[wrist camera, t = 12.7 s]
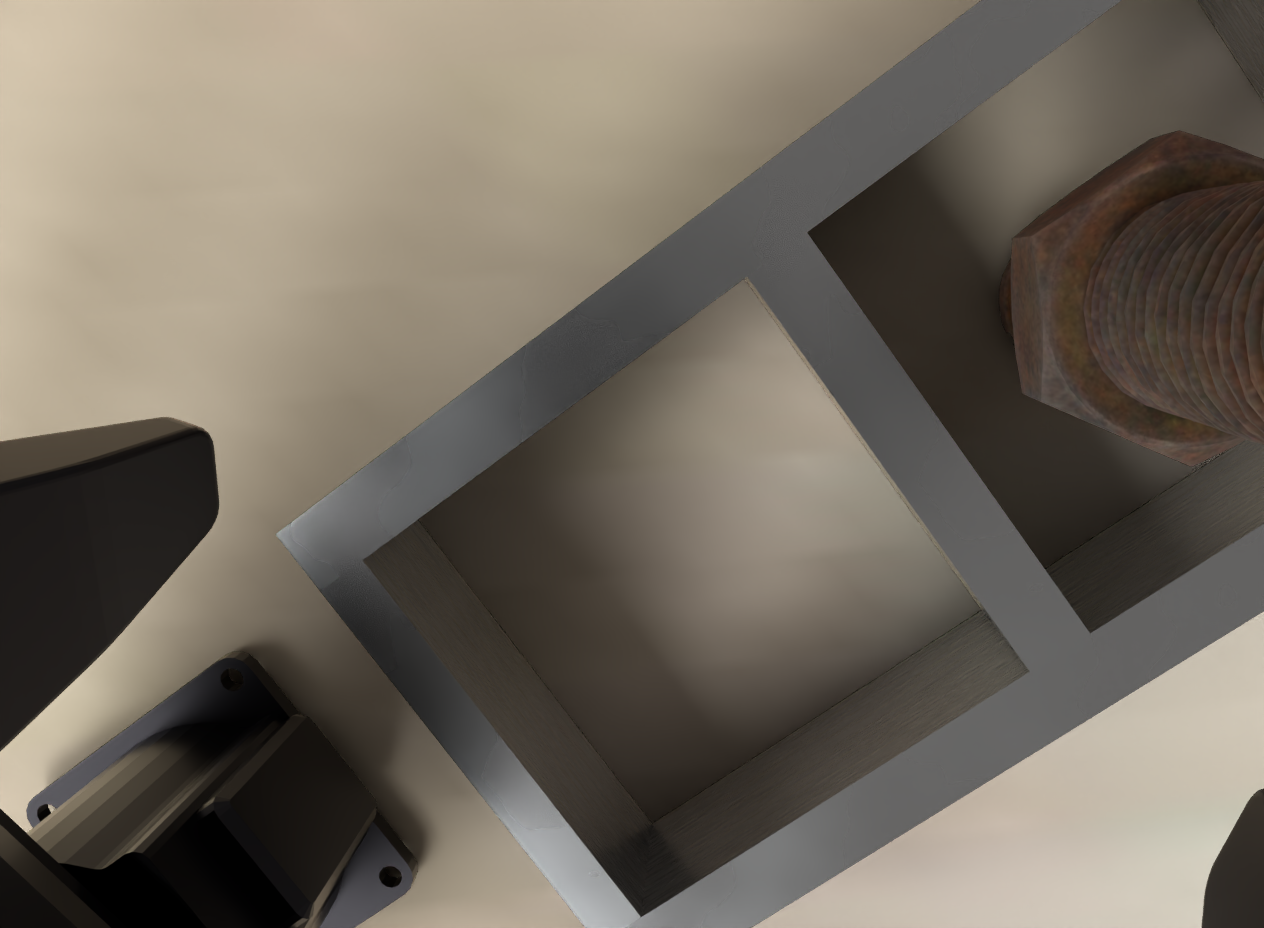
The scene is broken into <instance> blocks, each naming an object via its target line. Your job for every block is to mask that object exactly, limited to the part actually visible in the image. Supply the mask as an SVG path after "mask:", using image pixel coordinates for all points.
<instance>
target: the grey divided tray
mask: <svg viewBox="0 0 1264 928" xmlns="http://www.w3.org/2000/svg"><path fill="white" fill-rule="evenodd" d="M1120 1H1121V0H981V1H980V2H979V3H977V4H976V5H975V6H973V7H972V8H971V9H969V10H968V11H967V12H965V13H964V14H963V15H961V16H960V17H959V18H957V19H956V20H955V21H953V22H952V23H951V24H949V25H948V26H947V27H945V28H944V29H943V30H941V31H940V32H939V33H938V34H936V35H935V36H934V37H932V38H931V39H930V40H928V41H927V42H926V43H924V44H923V45H922V46H920V47H919V48H918V49H916V50H915V51H914V52H912V53H911V54H910V55H908V56H907V57H906V58H904V59H903V60H902V61H901V62H899V63H898V64H897V65H895V66H894V67H893V68H891V69H890V70H889V71H887V72H886V73H885V74H883V75H882V76H881V77H879V78H878V79H877V80H875V81H874V82H873V83H871V84H870V85H869V86H867V87H866V88H865V89H863V90H862V91H861V92H860V93H858V94H857V95H856V96H854V97H853V98H852V99H850V100H849V101H848V102H846V103H845V104H844V105H842V106H841V107H840V108H838V109H837V110H836V111H834V112H833V113H832V114H830V115H829V116H828V117H826V118H825V119H824V120H822V121H821V122H820V123H819V124H817V125H816V126H815V127H813V128H812V129H811V130H809V131H808V132H807V133H805V134H804V135H803V136H801V137H800V138H799V139H797V140H796V141H795V142H793V143H792V144H791V145H789V146H788V147H787V148H785V149H784V150H783V151H782V152H780V153H779V154H778V155H776V156H775V157H774V158H772V159H771V160H770V161H768V162H767V163H766V164H764V165H763V166H762V167H760V168H759V169H758V170H756V171H755V172H754V173H752V174H751V175H750V176H748V177H747V178H746V179H744V180H743V181H742V182H741V183H739V184H738V185H737V186H735V187H734V188H733V189H731V190H730V191H729V192H727V193H726V194H725V195H723V196H722V197H721V198H719V199H718V200H717V201H715V202H714V203H713V204H711V205H710V206H709V207H707V208H706V209H705V210H703V211H702V212H701V213H700V214H698V215H697V216H696V217H694V218H693V219H692V220H690V221H689V222H688V223H686V224H685V225H684V226H682V227H681V228H680V229H678V230H677V231H676V232H674V233H673V234H672V235H670V236H669V237H668V238H666V239H665V240H664V241H663V242H661V243H660V244H659V245H657V246H656V247H655V248H653V249H652V250H651V251H649V252H648V253H647V254H645V255H644V256H643V257H641V258H640V259H639V260H637V261H636V262H635V263H633V264H632V265H631V266H629V267H628V268H627V269H625V270H624V271H623V272H622V273H620V274H619V275H618V276H616V277H615V278H614V279H612V280H611V281H610V282H608V283H607V284H606V285H604V286H603V287H602V288H600V289H599V290H598V291H596V292H595V293H594V294H592V295H591V296H590V297H588V298H587V299H586V300H584V301H583V302H582V303H581V304H579V305H578V306H577V307H575V308H574V309H573V310H571V311H570V312H569V313H567V314H566V315H565V316H563V317H562V318H561V319H559V320H558V321H557V322H555V323H554V324H553V325H551V326H550V327H549V328H547V329H546V330H545V331H544V332H542V333H541V334H540V335H538V336H537V337H536V338H534V339H533V340H532V341H530V342H529V343H528V344H526V345H525V346H524V347H522V348H521V349H520V350H518V351H517V352H516V353H514V354H513V355H512V356H510V357H509V358H508V359H506V360H505V361H504V362H503V363H501V364H500V365H499V366H497V367H496V368H495V369H493V370H492V371H491V372H489V373H488V374H487V375H485V376H484V377H483V378H481V379H480V380H479V381H477V382H476V383H475V384H473V385H472V386H471V387H469V388H468V389H467V390H466V391H464V392H463V393H462V394H460V395H459V396H458V397H456V398H455V399H454V400H452V401H451V402H450V403H448V404H447V405H446V406H444V407H443V408H442V409H440V410H439V411H438V412H436V413H435V414H434V415H432V416H431V417H430V418H428V419H427V420H426V421H425V422H423V423H422V424H421V425H419V426H418V427H417V428H415V429H414V430H413V431H411V432H410V433H409V434H407V435H406V436H405V437H403V438H402V439H401V440H399V441H398V442H397V443H395V444H394V445H393V446H391V447H390V448H389V449H387V450H386V451H385V452H384V453H382V454H381V455H380V456H378V457H377V458H376V459H374V460H373V461H372V462H370V463H369V464H368V465H366V466H365V467H364V468H362V469H361V470H360V471H358V472H357V473H356V474H354V475H353V476H352V477H350V478H349V479H348V480H347V481H345V482H344V483H343V484H341V485H340V486H339V487H337V488H336V489H335V490H333V491H332V492H331V493H329V494H328V495H327V496H325V497H324V498H323V499H321V500H320V501H319V502H317V503H316V504H315V505H313V506H312V507H311V508H309V509H308V510H307V511H306V512H304V513H303V514H302V515H300V516H299V517H298V518H296V519H295V520H294V521H292V522H291V523H290V524H288V525H287V526H286V527H284V528H283V529H282V530H280V531H279V532H278V533H276V536H277V537H278V538H279V540H280V541H281V542H282V543H283V545H284V546H285V547H286V548H287V550H288V551H289V552H290V553H291V555H292V556H293V557H294V559H295V560H296V561H297V562H298V564H299V565H300V566H301V567H302V569H303V570H304V571H305V573H306V574H307V575H308V576H309V578H310V579H311V580H312V581H313V583H314V584H315V585H316V587H317V588H318V589H319V590H320V592H321V593H322V594H323V595H324V597H325V598H326V599H327V600H328V602H329V603H330V604H331V606H332V607H333V608H334V609H335V611H336V612H337V613H338V614H339V616H340V617H341V618H342V620H343V621H344V622H345V623H346V625H347V626H348V627H349V628H350V630H351V631H352V632H353V634H354V635H355V636H356V637H357V639H358V640H359V641H360V642H361V644H362V645H363V646H364V647H365V649H366V650H367V651H368V653H369V654H370V655H371V656H372V658H373V659H374V660H375V661H376V663H377V664H378V665H379V667H380V668H381V669H382V670H383V672H384V673H385V674H386V675H387V677H388V678H389V679H390V681H391V682H392V683H393V684H394V686H395V687H396V688H397V689H398V691H399V692H400V693H401V694H402V696H403V697H404V698H405V700H406V701H407V702H408V703H409V705H410V706H411V707H412V708H413V710H414V711H415V712H416V714H417V715H418V716H419V717H420V719H421V720H422V721H423V722H424V724H425V725H426V726H427V727H428V729H429V730H430V731H431V733H432V734H433V735H434V736H435V738H436V739H437V740H438V741H439V743H440V744H441V745H442V747H443V748H444V749H445V750H446V752H447V753H448V754H449V755H450V757H451V758H452V759H453V761H454V762H455V763H456V764H457V766H458V767H459V768H460V769H461V771H462V772H463V773H464V774H465V776H466V777H467V778H468V780H469V781H470V782H471V783H472V785H473V786H474V787H475V788H476V790H477V791H478V792H479V794H480V795H481V796H482V797H483V799H484V800H485V801H486V802H487V804H488V805H489V806H490V808H491V809H492V810H493V811H494V813H495V814H496V815H497V816H498V818H499V819H500V820H501V821H502V823H503V824H504V825H505V827H506V828H507V829H508V830H509V832H510V833H511V834H512V835H513V837H514V838H515V839H516V841H517V842H518V843H519V844H520V846H521V847H522V848H523V849H524V851H525V852H526V853H527V855H528V856H529V857H530V858H531V860H532V861H533V862H534V863H535V865H536V866H537V867H538V868H539V870H540V871H541V872H542V874H543V875H544V876H545V877H546V879H547V880H548V881H549V882H550V884H551V885H552V886H553V888H554V889H555V890H556V891H557V893H558V894H559V895H560V896H561V898H562V899H563V900H564V902H565V903H566V904H567V905H568V907H569V908H570V909H571V910H572V912H573V913H574V914H575V915H576V917H577V918H578V919H579V921H580V922H581V923H582V924H583V926H584V927H585V928H752V927H753V926H755V925H757V924H758V923H760V922H761V921H763V920H765V919H766V918H768V917H770V916H771V915H773V914H774V913H776V912H778V911H779V910H781V909H782V908H784V907H786V906H787V905H789V904H791V903H792V902H794V901H795V900H797V899H799V898H800V897H802V896H804V895H805V894H807V893H808V892H810V891H812V890H813V889H815V888H816V887H818V886H820V885H821V884H823V883H825V882H826V881H828V880H829V879H831V878H833V877H834V876H836V875H838V874H839V873H841V872H842V871H844V870H846V869H847V868H849V867H850V866H852V865H854V864H855V863H857V862H859V861H860V860H862V859H863V858H865V857H867V856H868V855H870V854H872V853H873V852H875V851H876V850H878V849H880V848H881V847H883V846H884V845H886V844H888V843H889V842H891V841H893V840H894V839H896V838H897V837H899V836H901V835H902V834H904V833H906V832H907V831H909V830H910V829H912V828H914V827H915V826H917V825H918V824H920V823H922V822H923V821H925V820H927V819H928V818H930V817H931V816H933V815H935V814H936V813H938V812H940V811H941V810H943V809H944V808H946V807H948V806H949V805H951V804H952V803H954V802H956V801H957V800H959V799H961V798H962V797H964V796H965V795H967V794H969V793H970V792H972V791H974V790H975V789H977V788H978V787H980V786H982V785H983V784H985V783H986V782H988V781H990V780H991V779H993V778H995V777H996V776H998V775H999V774H1001V773H1003V772H1004V771H1006V770H1008V769H1009V768H1011V767H1012V766H1014V765H1016V764H1017V763H1019V762H1020V761H1022V760H1024V759H1025V758H1027V757H1029V756H1030V755H1032V754H1033V753H1035V752H1037V751H1038V750H1040V749H1042V748H1043V747H1045V746H1046V745H1048V744H1050V743H1051V742H1053V741H1054V740H1056V739H1058V738H1059V737H1061V736H1063V735H1064V734H1066V733H1067V732H1069V731H1071V730H1072V729H1074V728H1076V727H1077V726H1079V725H1080V724H1082V723H1084V722H1085V721H1087V720H1088V719H1090V718H1092V717H1093V716H1095V715H1097V714H1098V713H1100V712H1101V711H1103V710H1105V709H1106V708H1108V707H1109V706H1111V705H1113V704H1114V703H1116V702H1118V701H1119V700H1121V699H1122V698H1124V697H1126V696H1127V695H1129V694H1131V693H1132V692H1134V691H1135V690H1137V689H1139V688H1140V687H1142V686H1143V685H1145V684H1147V683H1148V682H1150V681H1152V680H1153V679H1155V678H1156V677H1158V676H1160V675H1161V674H1163V673H1165V672H1166V671H1168V670H1169V669H1171V668H1173V667H1174V666H1176V665H1177V664H1179V663H1181V662H1182V661H1184V660H1186V659H1187V658H1189V657H1190V656H1192V655H1194V654H1195V653H1197V652H1199V651H1200V650H1202V649H1203V648H1205V647H1207V646H1208V645H1210V644H1211V643H1213V642H1215V641H1216V640H1218V639H1220V638H1221V637H1223V636H1224V635H1226V634H1228V633H1229V632H1231V631H1233V630H1234V629H1236V628H1237V627H1239V626H1241V625H1242V624H1244V623H1245V622H1247V621H1249V620H1250V619H1252V618H1254V617H1255V616H1257V615H1258V614H1260V613H1262V612H1263V611H1264V446H1263V445H1261V444H1258V443H1255V442H1251V441H1248V440H1245V441H1243V442H1241V443H1239V444H1238V445H1236V446H1234V447H1233V448H1231V449H1229V450H1228V451H1226V452H1225V453H1223V454H1222V455H1220V456H1219V457H1217V458H1216V459H1214V460H1212V461H1211V462H1209V463H1208V464H1206V465H1205V466H1203V467H1202V468H1200V469H1199V470H1197V471H1196V472H1194V473H1192V474H1191V475H1189V476H1188V477H1186V478H1185V479H1183V480H1182V481H1180V482H1179V483H1177V484H1175V485H1174V486H1172V487H1171V488H1169V489H1168V490H1166V491H1165V492H1163V493H1162V494H1160V495H1159V496H1157V497H1155V498H1154V499H1152V500H1151V501H1149V502H1148V503H1146V504H1145V505H1143V506H1142V507H1140V508H1138V509H1137V510H1135V511H1134V512H1132V513H1131V514H1129V515H1128V516H1126V517H1125V518H1123V519H1122V520H1120V521H1118V522H1117V523H1115V524H1114V525H1112V526H1111V527H1109V528H1108V529H1106V530H1105V531H1103V532H1101V533H1100V534H1098V535H1097V536H1095V537H1094V538H1092V539H1091V540H1089V541H1088V542H1086V543H1085V544H1083V545H1081V546H1080V547H1078V548H1077V549H1075V550H1074V551H1072V552H1071V553H1069V554H1068V555H1066V556H1064V557H1063V558H1061V559H1060V560H1058V561H1057V562H1055V563H1054V564H1052V565H1051V566H1049V567H1048V568H1046V569H1044V567H1043V566H1042V564H1041V563H1040V562H1039V560H1038V559H1037V557H1036V556H1035V555H1034V553H1033V552H1032V550H1031V549H1030V548H1029V546H1028V545H1027V543H1026V542H1025V540H1024V539H1023V538H1022V536H1021V535H1020V533H1019V532H1018V531H1017V529H1016V528H1015V526H1014V525H1013V523H1012V522H1011V521H1010V519H1009V518H1008V516H1007V515H1006V514H1005V512H1004V511H1003V509H1002V508H1001V506H1000V505H999V504H998V502H997V501H996V499H995V498H994V497H993V495H992V494H991V492H990V491H989V489H988V488H987V487H986V485H985V484H984V482H983V481H982V480H981V478H980V477H979V475H978V474H977V472H976V471H975V470H974V468H973V467H972V465H971V464H970V463H969V461H968V460H967V458H966V457H965V455H964V454H963V453H962V451H961V450H960V448H959V447H958V446H957V444H956V443H955V441H954V440H953V438H952V437H951V436H950V434H949V433H948V431H947V430H946V429H945V427H944V426H943V424H942V423H941V421H940V420H939V419H938V417H937V416H936V414H935V413H934V412H933V410H932V409H931V407H930V406H929V404H928V403H927V402H926V400H925V399H924V397H923V396H922V395H921V393H920V392H919V390H918V389H917V388H916V386H915V385H914V383H913V382H912V380H911V379H910V378H909V376H908V375H907V373H906V372H905V371H904V369H903V368H902V366H901V365H900V363H899V362H898V361H897V359H896V358H895V356H894V355H893V354H892V352H891V351H890V349H889V348H888V346H887V345H886V344H885V342H884V341H883V339H882V338H881V337H880V335H879V334H878V332H877V331H876V329H875V328H874V327H873V325H872V324H871V322H870V321H869V320H868V318H867V317H866V315H865V314H864V312H863V311H862V310H861V308H860V307H859V305H858V304H857V303H856V301H855V300H854V298H853V297H852V295H851V294H850V293H849V291H848V290H847V288H846V287H845V286H844V284H843V283H842V281H841V280H840V278H839V277H838V276H837V274H836V273H835V271H834V270H833V269H832V267H831V266H830V264H829V263H828V261H827V260H826V259H825V257H824V256H823V254H822V253H821V252H820V250H819V249H818V247H817V246H816V244H815V243H814V242H813V240H812V239H811V237H810V236H809V235H808V233H807V232H808V231H810V230H811V229H812V228H814V227H815V226H816V225H818V224H819V223H820V222H822V221H823V220H824V219H826V218H827V217H828V216H830V215H831V214H833V213H834V212H835V211H837V210H838V209H839V208H841V207H842V206H843V205H845V204H846V203H847V202H849V201H850V200H852V199H853V198H854V197H856V196H857V195H858V194H860V193H861V192H862V191H864V190H865V189H866V188H868V187H869V186H870V185H872V184H873V183H875V182H876V181H877V180H879V179H880V178H881V177H883V176H884V175H885V174H887V173H888V172H889V171H891V170H892V169H894V168H895V167H896V166H898V165H899V164H900V163H902V162H903V161H904V160H906V159H907V158H908V157H910V156H911V155H912V154H914V153H915V152H917V151H918V150H919V149H921V148H922V147H923V146H925V145H926V144H927V143H929V142H930V141H931V140H933V139H934V138H936V137H937V136H938V135H940V134H941V133H942V132H944V131H945V130H946V129H948V128H949V127H950V126H952V125H953V124H954V123H956V122H957V121H959V120H960V119H961V118H963V117H964V116H965V115H967V114H968V113H969V112H971V111H972V110H973V109H975V108H976V107H978V106H979V105H980V104H982V103H983V102H984V101H986V100H987V99H988V98H990V97H991V96H992V95H994V94H995V93H996V92H998V91H999V90H1001V89H1002V88H1003V87H1005V86H1006V85H1007V84H1009V83H1010V82H1011V81H1013V80H1014V79H1015V78H1017V77H1018V76H1020V75H1021V74H1022V73H1024V72H1025V71H1026V70H1028V69H1029V68H1030V67H1032V66H1033V65H1034V64H1036V63H1037V62H1038V61H1040V60H1041V59H1043V58H1044V57H1045V56H1047V55H1048V54H1049V53H1051V52H1052V51H1053V50H1055V49H1056V48H1057V47H1059V46H1060V45H1062V44H1063V43H1064V42H1066V41H1067V40H1068V39H1070V38H1071V37H1072V36H1074V35H1075V34H1076V33H1078V32H1079V31H1080V30H1082V29H1083V28H1085V27H1086V26H1087V25H1089V24H1090V23H1091V22H1093V21H1094V20H1095V19H1097V18H1098V17H1099V16H1101V15H1102V14H1104V13H1105V12H1106V11H1108V10H1109V9H1110V8H1112V7H1113V6H1114V5H1116V4H1117V3H1118V2H1120ZM1197 1H1198V2H1199V4H1200V5H1201V7H1202V8H1203V10H1204V11H1205V13H1206V15H1207V16H1208V18H1209V19H1210V21H1211V22H1212V24H1213V25H1214V27H1215V28H1216V30H1217V31H1218V33H1219V35H1220V36H1221V38H1222V39H1223V41H1224V42H1225V44H1226V45H1227V47H1228V48H1229V50H1230V52H1231V53H1232V55H1233V56H1234V58H1235V59H1236V61H1237V62H1238V64H1239V65H1240V67H1241V68H1242V70H1243V72H1244V73H1245V75H1246V76H1247V78H1248V79H1249V81H1250V82H1251V84H1252V85H1253V87H1254V88H1255V90H1256V92H1257V93H1258V95H1259V96H1260V98H1261V99H1262V101H1263V102H1264V0H1197ZM743 279H745V280H746V282H747V283H748V285H749V286H750V287H751V289H752V290H753V291H754V293H755V294H756V296H757V297H758V298H759V300H760V301H761V303H762V304H763V305H764V307H765V308H766V310H767V311H768V312H769V314H770V315H771V317H772V318H773V319H774V321H775V322H776V324H777V325H778V326H779V328H780V329H781V331H782V332H783V333H784V335H785V336H786V338H787V339H788V340H789V342H790V343H791V345H792V346H793V347H794V349H795V350H796V352H797V353H798V354H799V356H800V357H801V359H802V360H803V361H804V363H805V364H806V365H807V367H808V368H809V370H810V371H811V372H812V374H813V375H814V377H815V378H816V379H817V381H818V382H819V384H820V385H821V386H822V388H823V389H824V391H825V392H826V393H827V395H828V396H829V398H830V399H831V400H832V402H833V403H834V405H835V406H836V407H837V409H838V410H839V412H840V413H841V414H842V416H843V417H844V419H845V420H846V421H847V423H848V424H849V426H850V427H851V428H852V430H853V431H854V432H855V434H856V435H857V437H858V438H859V439H860V441H861V442H862V444H863V445H864V446H865V448H866V449H867V451H868V452H869V453H870V455H871V456H872V458H873V459H874V460H875V462H876V463H877V465H878V466H879V467H880V469H881V470H882V472H883V473H884V474H885V476H886V477H887V479H888V480H889V481H890V483H891V484H892V486H893V487H894V488H895V490H896V491H897V493H898V494H899V495H900V497H901V498H902V499H903V501H904V502H905V504H906V505H907V506H908V508H909V509H910V511H911V512H912V513H913V515H914V516H915V518H916V519H917V520H918V522H919V523H920V525H921V526H922V527H923V529H924V530H925V532H926V533H927V534H928V536H929V537H930V539H931V540H932V541H933V543H934V544H935V546H936V547H937V548H938V550H939V551H940V553H941V554H942V555H943V557H944V558H945V560H946V561H947V562H948V564H949V565H950V567H951V568H952V569H953V571H954V572H955V573H956V575H957V576H958V578H959V579H960V580H961V582H962V583H963V585H964V586H965V587H966V589H967V590H968V592H969V593H970V594H971V596H972V597H973V599H974V600H975V601H976V603H977V604H978V606H979V607H980V608H981V611H980V612H978V613H977V614H975V615H974V616H972V617H970V618H969V619H967V620H966V621H964V622H963V623H961V624H960V625H958V626H957V627H955V628H953V629H952V630H950V631H949V632H947V633H946V634H944V635H943V636H941V637H940V638H938V639H937V640H935V641H933V642H932V643H930V644H929V645H927V646H926V647H924V648H923V649H921V650H920V651H918V652H916V653H915V654H913V655H912V656H910V657H909V658H907V659H906V660H904V661H903V662H901V663H900V664H898V665H896V666H895V667H893V668H892V669H890V670H889V671H887V672H886V673H884V674H883V675H881V676H879V677H878V678H876V679H875V680H873V681H872V682H870V683H869V684H867V685H866V686H864V687H863V688H861V689H859V690H858V691H856V692H855V693H853V694H852V695H850V696H849V697H847V698H846V699H844V700H842V701H841V702H839V703H838V704H836V705H835V706H833V707H832V708H830V709H829V710H827V711H826V712H824V713H822V714H821V715H819V716H818V717H816V718H815V719H813V720H812V721H810V722H809V723H807V724H805V725H804V726H802V727H801V728H799V729H798V730H796V731H795V732H793V733H792V734H790V735H789V736H787V737H785V738H784V739H782V740H781V741H779V742H778V743H776V744H775V745H773V746H772V747H770V748H768V749H767V750H765V751H764V752H762V753H761V754H759V755H758V756H756V757H755V758H753V759H752V760H750V761H748V762H747V763H745V764H744V765H742V766H741V767H739V768H738V769H736V770H735V771H733V772H731V773H730V774H728V775H727V776H725V777H724V778H722V779H721V780H719V781H718V782H716V783H715V784H713V785H711V786H710V787H708V788H707V789H705V790H704V791H702V792H701V793H699V794H698V795H696V796H694V797H693V798H691V799H690V800H688V801H687V802H685V803H684V804H682V805H681V806H679V807H678V808H676V809H674V810H673V811H671V812H670V813H668V814H667V815H665V816H664V817H662V818H661V819H659V820H657V821H656V822H654V823H653V824H652V823H651V822H650V820H649V819H648V818H647V816H646V815H645V814H644V813H643V811H642V810H641V809H640V807H639V806H638V805H637V803H636V802H635V801H634V800H633V798H632V797H631V796H630V794H629V793H628V792H627V791H626V789H625V788H624V787H623V785H622V784H621V783H620V781H619V780H618V779H617V778H616V776H615V775H614V774H613V772H612V771H611V770H610V768H609V767H608V766H607V765H606V763H605V762H604V761H603V759H602V758H601V757H600V755H599V754H598V753H597V752H596V750H595V749H594V748H593V746H592V745H591V744H590V742H589V741H588V740H587V739H586V737H585V736H584V735H583V733H582V732H581V731H580V730H579V728H578V727H577V726H576V724H575V723H574V722H573V720H572V719H571V718H570V717H569V715H568V714H567V713H566V711H565V710H564V709H563V707H562V706H561V705H560V704H559V702H558V701H557V700H556V698H555V697H554V696H553V694H552V693H551V692H550V691H549V689H548V688H547V687H546V685H545V684H544V683H543V681H542V680H541V679H540V678H539V676H538V675H537V674H536V672H535V671H534V670H533V669H532V667H531V666H530V665H529V663H528V662H527V661H526V659H525V658H524V657H523V656H522V654H521V653H520V652H519V650H518V649H517V648H516V646H515V645H514V644H513V643H512V641H511V640H510V639H509V637H508V636H507V635H506V633H505V632H504V631H503V630H502V628H501V627H500V626H499V624H498V623H497V622H496V621H495V619H494V618H493V617H492V615H491V614H490V613H489V611H488V610H487V609H486V608H485V606H484V605H483V604H482V602H481V601H480V600H479V598H478V597H477V596H476V595H475V593H474V592H473V591H472V589H471V588H470V587H469V585H468V584H467V583H466V582H465V580H464V579H463V578H462V576H461V575H460V574H459V572H458V571H457V570H456V569H455V567H454V566H453V565H452V563H451V562H450V561H449V560H448V558H447V557H446V556H445V554H444V553H443V552H442V550H441V549H440V548H439V547H438V545H437V544H436V543H435V541H434V540H433V539H432V537H431V536H430V535H429V534H428V532H427V531H426V530H425V528H424V527H423V526H422V524H421V523H420V522H419V521H418V519H419V518H421V517H422V516H423V515H425V514H426V513H427V512H429V511H430V510H432V509H433V508H434V507H436V506H437V505H438V504H440V503H441V502H442V501H444V500H445V499H446V498H448V497H449V496H450V495H452V494H453V493H455V492H456V491H457V490H459V489H460V488H461V487H463V486H464V485H465V484H467V483H468V482H469V481H471V480H472V479H474V478H475V477H476V476H478V475H479V474H480V473H482V472H483V471H484V470H486V469H487V468H488V467H490V466H491V465H492V464H494V463H495V462H497V461H498V460H499V459H501V458H502V457H503V456H505V455H506V454H507V453H509V452H510V451H511V450H513V449H514V448H516V447H517V446H518V445H520V444H521V443H522V442H524V441H525V440H526V439H528V438H529V437H530V436H532V435H533V434H534V433H536V432H537V431H539V430H540V429H541V428H543V427H544V426H545V425H547V424H548V423H549V422H551V421H552V420H553V419H555V418H556V417H558V416H559V415H560V414H562V413H563V412H564V411H566V410H567V409H568V408H570V407H571V406H572V405H574V404H575V403H576V402H578V401H579V400H581V399H582V398H583V397H585V396H586V395H587V394H589V393H590V392H591V391H593V390H594V389H595V388H597V387H598V386H600V385H601V384H602V383H604V382H605V381H606V380H608V379H609V378H610V377H612V376H613V375H614V374H616V373H617V372H618V371H620V370H621V369H623V368H624V367H625V366H627V365H628V364H629V363H631V362H632V361H633V360H635V359H636V358H637V357H639V356H640V355H642V354H643V353H644V352H646V351H647V350H648V349H650V348H651V347H652V346H654V345H655V344H656V343H658V342H659V341H660V340H662V339H663V338H665V337H666V336H667V335H669V334H670V333H671V332H673V331H674V330H675V329H677V328H678V327H679V326H681V325H682V324H684V323H685V322H686V321H688V320H689V319H690V318H692V317H693V316H694V315H696V314H697V313H698V312H700V311H701V310H702V309H704V308H705V307H707V306H708V305H709V304H711V303H712V302H713V301H715V300H716V299H717V298H719V297H720V296H721V295H723V294H724V293H726V292H727V291H728V290H730V289H731V288H732V287H734V286H735V285H736V284H738V283H739V282H740V281H742V280H743Z"/></svg>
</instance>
